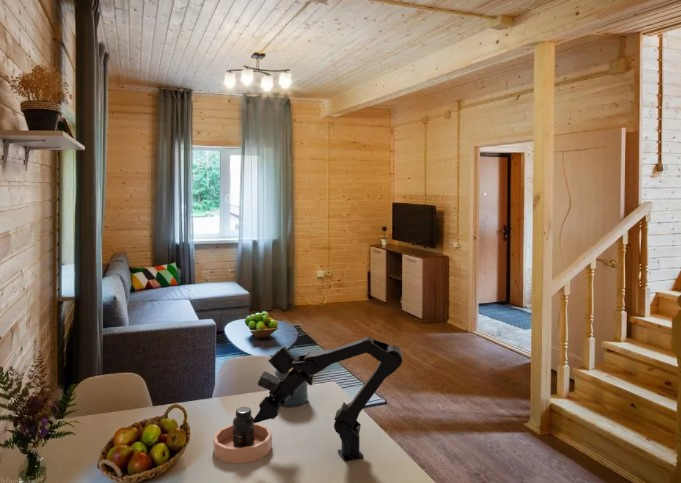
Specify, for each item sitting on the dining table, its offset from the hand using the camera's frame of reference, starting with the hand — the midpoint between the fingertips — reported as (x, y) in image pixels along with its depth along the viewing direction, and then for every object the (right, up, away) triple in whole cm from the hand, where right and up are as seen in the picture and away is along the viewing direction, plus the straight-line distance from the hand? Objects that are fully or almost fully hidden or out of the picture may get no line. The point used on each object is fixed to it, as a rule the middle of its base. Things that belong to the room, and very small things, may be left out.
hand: (257, 415), depth 171 cm
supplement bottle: (-5, -10, +2) cm, 12 cm away
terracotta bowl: (-5, -11, +2) cm, 12 cm away
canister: (+7, -7, +40) cm, 42 cm away
